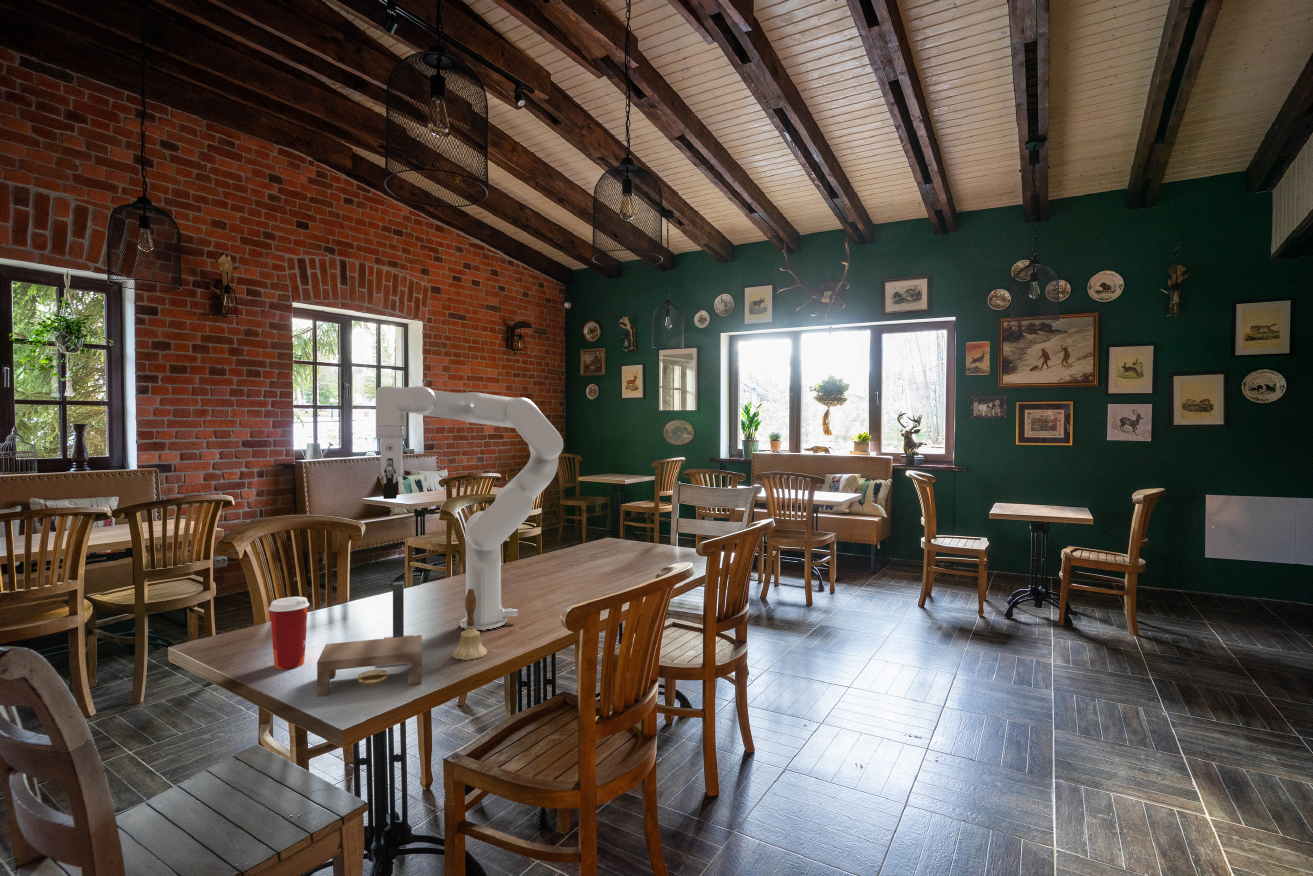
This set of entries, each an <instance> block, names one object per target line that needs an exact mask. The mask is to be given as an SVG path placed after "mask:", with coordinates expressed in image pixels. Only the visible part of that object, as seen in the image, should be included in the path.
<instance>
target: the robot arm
mask: <svg viewBox="0 0 1313 876" xmlns="http://www.w3.org/2000/svg"><path fill="white" fill-rule="evenodd" d="M375 391H376V392H375V438H376V439H380V467H381V475H382V476H384V477H383V484H382V485H383V486H382V487H383V489H382V491H383V492H382V497H383V499H384V500H393V499H394V500H395V499H397V496H398V495H399V480H398V479H399V477H398V476H402V475H403V471H404V467H403V465H404V461H403V459H404V458H403V457H404V456H403V455H404V454H403V453H404V451H403V450H404V449H403V446H404V445H403V439H407V413H409V414H410V413H412V414H416V415H419V416H425V417H426V416H427V417H436V418H444V419H451V420H452V419H453V420H457V421H462V422H465V423H473V424H480V425H481V424H482V425H489V426H498V427H505V428H510V429H511V428H512V429H515V430H516V432H517V433H518V434H519V435H520V437H522V439H523V440H524V441H525V443H526V444H528V450H529V452H530V455H529V460H528V462H527V463H526V464H525V466H524V467H523V468H522V469H521V470H520V471H519V473H517V474H516V476H515V475H514V477H513V478H512V479H511V480H510V481H509V482H508V483H506V485H504V486H503V487H502V488H500V490H499V491H498V492H497V493H496V496H495V500H494V501H493V502H492V503H491V504H490V505H489V506H488V507H487V508H486V509H485V510H482V511H478V512H474V513H473V514H472V515H470V517H468V519H467V521H466V524H465V527H464V529H465V531H464V536H465V537H464V539H465V596H466V595H467V592H468V589H474V593H475V596H476V608H475V612H474V629H475V630H482V631H487V630H486V629H491V630H493V629H492V628H496V627H499V626H502V625H504V624H505V623H506V622H507V619H508V618H507V617H518V616H519V610H518V608H515V609H514V608H509V607H508V608H504V607H503V606H502V547H501V545H502V544H503V543H504V542H505V541H506V540H507V539H508V538H509V537H510V536H511V535H512V534H513V533H514V532H515V531H516V530H517V529H518V528H519V527H520V526H521V525H522V524H523V523H524V522H525V521H526V520H527V519H528V518H529V516H530V515H531V514H532V511H533V508H534V501H535V500H536V499H537V498H538V497H539V496H540V495H541V493H542V492H543V491H544V490H545V489H546V488H547V487H548V486H549V485H550V484H551V482H552V481H553V480H554V478H555V476H556V473H557V470H558V467H559V456H560V454H561V453H562V452H563V449H564V439H563V436H562V435H561V434H560V432H559V431H558V430H557V429H556V428H555V426H554V425H553V424H552V423H551V421H549V419H548V418H547V417H546V416H545V415H544V414H543V412H542V411H541V410H540V408H538V406H537V405H536V404H535V403H534V402H533V401H532V400H531V399H529V398H527V397H524V396H522V397H510V396H504V395H495V394H491V393H482V392H477V391H476V392H475V391H473V392H471V391H470V392H452V391H451V392H450V391H443V390H435V389H431V388H430V387H427V386H424V385H420V386H419V385H417V386H409V387H407V386H406V387H402V386H401V387H400V386H393V385H392V386H391V385H390V386H386V385H384V386H379V387H377V389H376V390H375ZM506 624H507V623H506ZM506 624H505V625H506ZM505 625H504V626H505ZM459 626H460V628H461V629H463V628H464V630H466V629H467V612H466V611H465V617H464V618H463V619H461V620H460V622H459ZM502 627H503V626H502ZM499 628H500V627H499ZM496 629H497V628H496Z"/></svg>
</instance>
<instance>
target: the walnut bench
mask: <svg viewBox="0 0 1313 876" xmlns="http://www.w3.org/2000/svg"><path fill="white" fill-rule="evenodd" d="M406 662H411V665H410V674H411V678H410V679H411V681H410V682H411V683H410V684H411V686H415V685H422V669H423V668H422V667H423V635H422V634H420V635H419V634H418V635H413V636H406V637H395V638H385V639H384V638H375V639H364V640H356V641H355V640H354V641H345V642H336V643H335V642H334V643H326V644H325V646H324V647H323V649H322V652H321V653H320V656H319V658H318V660H317V661H316V685H317V686H316V687H317V688H316V689H317V690H316V691H317V693H316V696H317V697H323V696H329V694H330V688H331V687H330V685H331V684H330V682H331V681H330V679H334V678H336V676H337V671H338V670H348V669H359V668H366V667H367V668H368V667H376V666H377V667H378V665H387V664H396V663H406Z"/></svg>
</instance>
